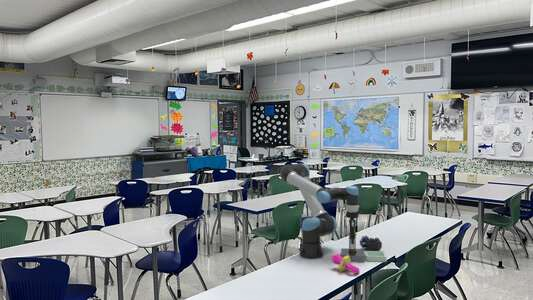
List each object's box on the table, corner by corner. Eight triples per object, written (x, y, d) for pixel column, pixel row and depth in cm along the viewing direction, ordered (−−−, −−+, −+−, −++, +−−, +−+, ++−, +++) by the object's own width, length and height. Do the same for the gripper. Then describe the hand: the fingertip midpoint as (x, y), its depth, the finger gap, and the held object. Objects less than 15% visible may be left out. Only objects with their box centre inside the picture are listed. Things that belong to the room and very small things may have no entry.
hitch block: (341, 261, 255) (341, 255, 255) (341, 254, 269) (341, 248, 269) (364, 262, 253) (364, 256, 253) (363, 255, 267) (363, 249, 267)
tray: (366, 261, 255) (366, 256, 255) (365, 256, 265) (365, 251, 265) (386, 262, 253) (386, 256, 253) (384, 256, 263) (384, 251, 263)
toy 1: (350, 279, 229) (359, 262, 230) (324, 263, 241) (332, 247, 241) (357, 280, 237) (365, 264, 238) (331, 265, 248) (339, 249, 249)
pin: (356, 258, 258) (356, 235, 257) (348, 258, 260) (348, 234, 258) (356, 256, 263) (356, 233, 262) (348, 255, 264) (348, 232, 263)
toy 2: (365, 234, 284) (383, 239, 272) (365, 246, 285) (383, 251, 273) (357, 236, 279) (375, 241, 267) (357, 249, 280) (375, 254, 268)
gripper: (359, 214, 250) (359, 252, 252) (357, 208, 267) (357, 243, 269) (346, 214, 251) (346, 251, 253) (345, 208, 268) (345, 243, 270)
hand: (352, 247), depth 261 cm, fingers closed on pin, 4 cm apart
